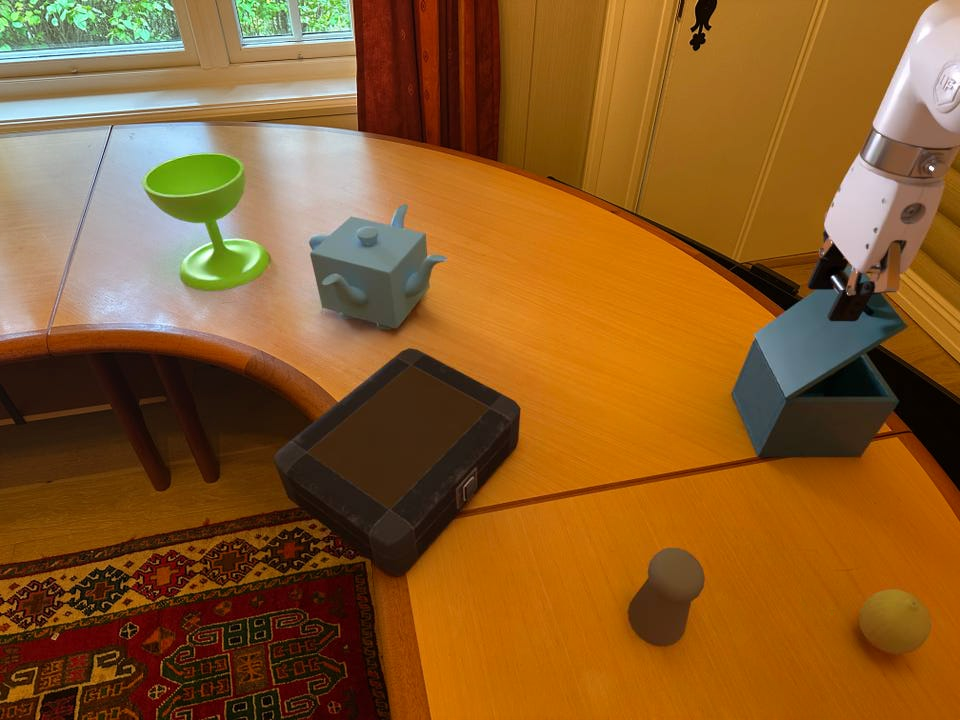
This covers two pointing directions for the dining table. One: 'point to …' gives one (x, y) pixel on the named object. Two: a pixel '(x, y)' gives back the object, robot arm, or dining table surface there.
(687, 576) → the cork
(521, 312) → the dining table surface
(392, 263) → the teakettle
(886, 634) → the lemon
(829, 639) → the dining table surface
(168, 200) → the wineglass
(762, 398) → the teal box
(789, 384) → the box lid
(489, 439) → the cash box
